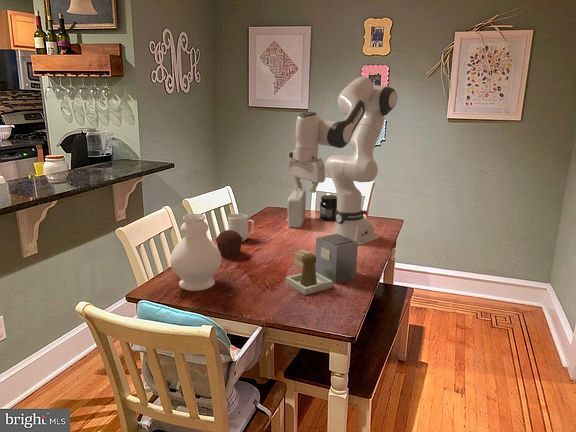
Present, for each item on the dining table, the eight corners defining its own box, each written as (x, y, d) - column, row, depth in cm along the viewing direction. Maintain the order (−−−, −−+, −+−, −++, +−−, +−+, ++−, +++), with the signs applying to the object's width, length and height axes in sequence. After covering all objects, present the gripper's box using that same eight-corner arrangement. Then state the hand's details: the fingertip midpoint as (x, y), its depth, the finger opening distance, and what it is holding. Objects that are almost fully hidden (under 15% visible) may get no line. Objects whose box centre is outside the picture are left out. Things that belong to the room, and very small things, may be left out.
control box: (335, 267, 188) (336, 232, 184) (356, 277, 179) (358, 241, 175) (314, 272, 183) (315, 237, 179) (334, 283, 173) (336, 246, 169)
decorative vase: (165, 279, 175) (161, 213, 168) (211, 270, 184) (209, 207, 177) (180, 298, 160) (176, 226, 154) (229, 287, 169) (228, 219, 162)
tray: (312, 276, 180) (312, 270, 179) (332, 287, 170) (332, 281, 169) (285, 283, 173) (285, 277, 172) (305, 295, 163) (305, 288, 163)
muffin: (246, 257, 198) (246, 234, 196) (220, 260, 194) (219, 237, 192) (238, 248, 209) (237, 226, 206) (213, 251, 205) (212, 229, 202)
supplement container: (340, 216, 259) (341, 195, 256) (337, 222, 249) (338, 199, 246) (321, 215, 262) (321, 194, 258) (317, 220, 252) (318, 198, 249)
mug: (225, 241, 218) (224, 217, 215) (233, 235, 226) (233, 212, 223) (249, 244, 214) (249, 220, 211) (257, 238, 222) (257, 215, 219)
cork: (299, 280, 174) (299, 252, 171) (315, 280, 175) (316, 251, 172) (301, 287, 168) (301, 258, 165) (318, 286, 169) (319, 257, 166)
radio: (290, 217, 258) (290, 171, 251) (305, 217, 257) (306, 171, 250) (284, 228, 237) (284, 179, 230) (301, 229, 236) (301, 180, 229)
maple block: (301, 261, 195) (301, 249, 193) (310, 264, 192) (311, 252, 190) (293, 264, 191) (293, 252, 190) (303, 267, 188) (303, 255, 187)
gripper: (329, 158, 178) (328, 194, 182) (298, 151, 195) (297, 184, 198) (316, 159, 175) (315, 196, 179) (285, 152, 191) (285, 186, 195)
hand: (305, 190), depth 189 cm, fingers open, 8 cm apart
